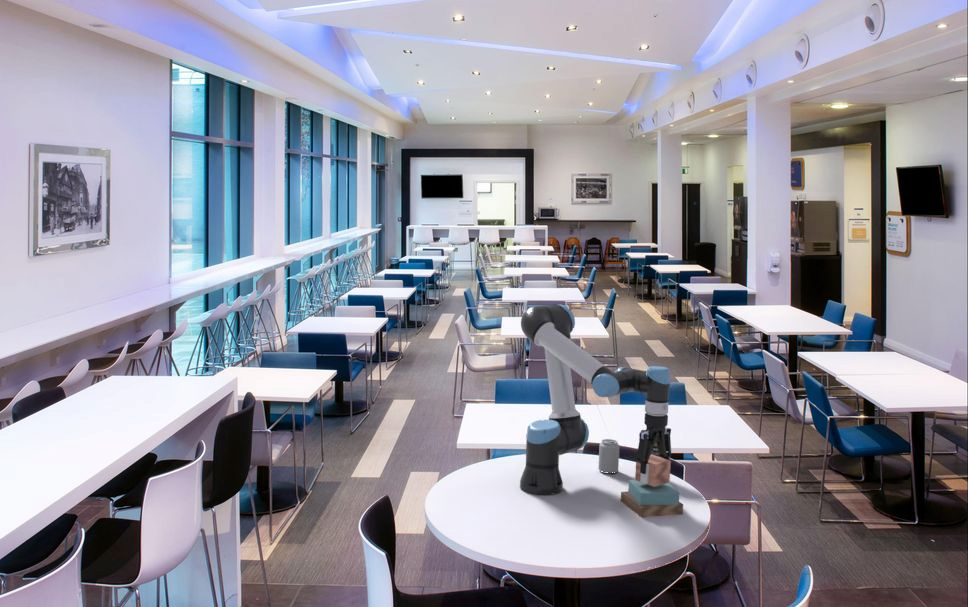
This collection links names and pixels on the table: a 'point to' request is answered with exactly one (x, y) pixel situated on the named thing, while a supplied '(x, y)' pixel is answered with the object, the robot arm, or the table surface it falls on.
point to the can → (608, 456)
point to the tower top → (653, 493)
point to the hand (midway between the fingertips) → (652, 480)
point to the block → (656, 471)
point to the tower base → (650, 507)
